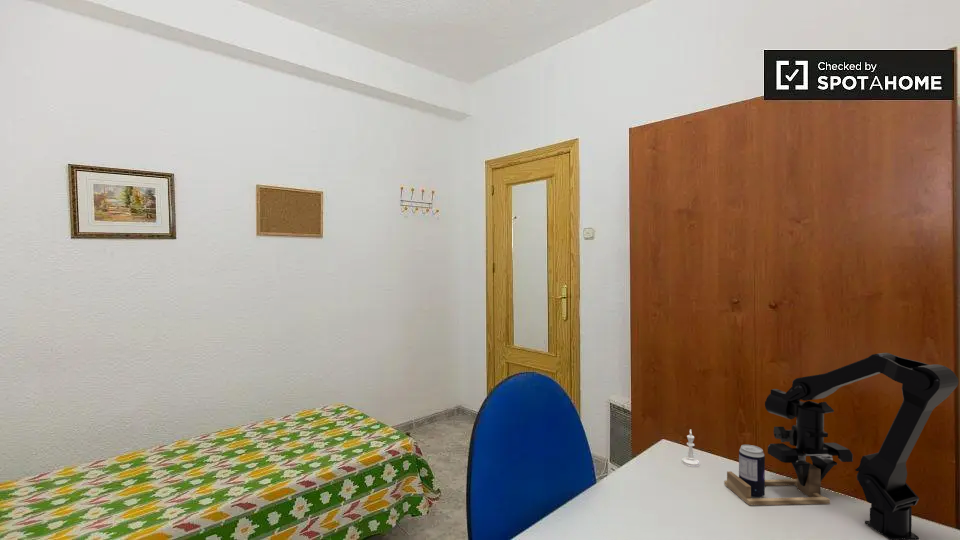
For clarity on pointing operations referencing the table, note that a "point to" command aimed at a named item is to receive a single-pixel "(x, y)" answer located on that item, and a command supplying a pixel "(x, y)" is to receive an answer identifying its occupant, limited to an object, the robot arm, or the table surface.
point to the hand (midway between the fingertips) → (809, 485)
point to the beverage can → (752, 469)
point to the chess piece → (690, 453)
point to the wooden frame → (810, 488)
